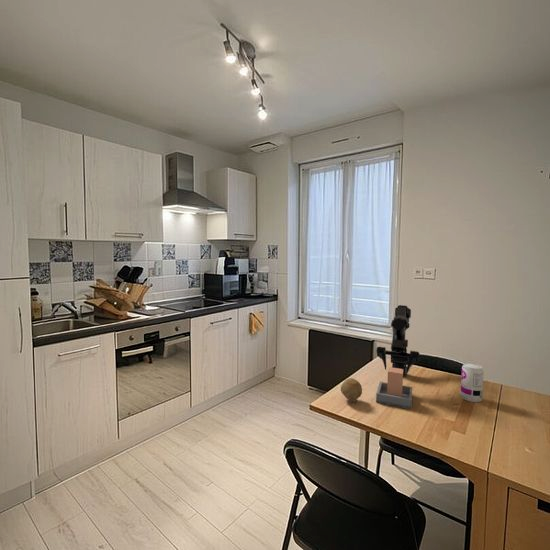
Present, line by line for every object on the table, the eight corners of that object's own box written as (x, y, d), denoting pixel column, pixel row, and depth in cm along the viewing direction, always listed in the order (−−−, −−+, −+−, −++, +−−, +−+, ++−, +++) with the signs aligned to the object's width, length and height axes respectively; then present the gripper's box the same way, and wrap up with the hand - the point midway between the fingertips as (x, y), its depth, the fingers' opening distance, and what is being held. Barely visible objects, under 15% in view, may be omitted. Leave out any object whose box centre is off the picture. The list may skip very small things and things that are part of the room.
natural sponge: (336, 401, 138) (337, 378, 138) (346, 394, 145) (347, 373, 144) (355, 408, 132) (356, 384, 132) (365, 400, 139) (366, 378, 138)
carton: (387, 392, 145) (388, 367, 144) (402, 395, 143) (403, 369, 142) (386, 398, 140) (387, 371, 139) (401, 401, 137) (402, 373, 136)
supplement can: (460, 400, 141) (462, 367, 140) (459, 393, 148) (461, 361, 147) (482, 404, 137) (484, 370, 136) (480, 397, 144) (482, 364, 143)
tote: (376, 402, 138) (376, 393, 137) (379, 389, 150) (379, 381, 150) (411, 409, 132) (411, 399, 132) (411, 395, 145) (412, 387, 144)
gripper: (377, 330, 153) (373, 359, 144) (420, 334, 145) (419, 366, 136) (378, 341, 161) (375, 370, 152) (419, 346, 153) (418, 377, 144)
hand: (396, 370), depth 146 cm, fingers open, 9 cm apart
